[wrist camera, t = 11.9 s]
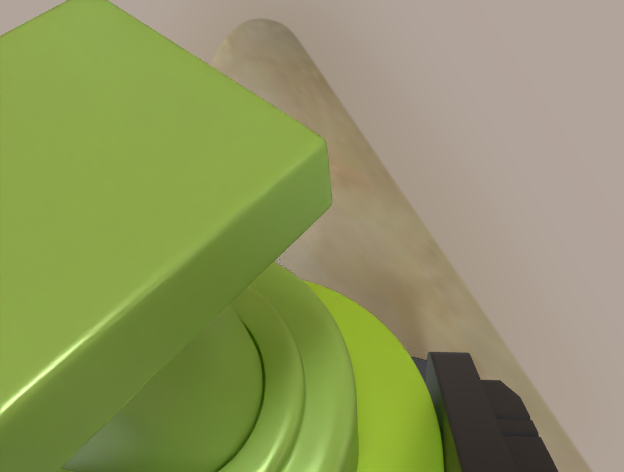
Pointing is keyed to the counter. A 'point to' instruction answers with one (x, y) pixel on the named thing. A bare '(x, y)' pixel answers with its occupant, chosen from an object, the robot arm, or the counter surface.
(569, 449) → the counter surface
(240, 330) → the soap dispenser
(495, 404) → the robot arm
